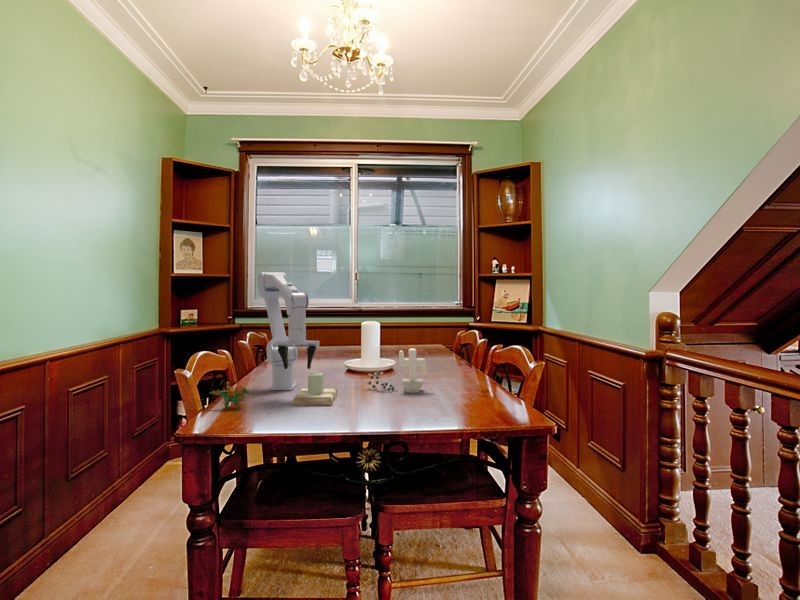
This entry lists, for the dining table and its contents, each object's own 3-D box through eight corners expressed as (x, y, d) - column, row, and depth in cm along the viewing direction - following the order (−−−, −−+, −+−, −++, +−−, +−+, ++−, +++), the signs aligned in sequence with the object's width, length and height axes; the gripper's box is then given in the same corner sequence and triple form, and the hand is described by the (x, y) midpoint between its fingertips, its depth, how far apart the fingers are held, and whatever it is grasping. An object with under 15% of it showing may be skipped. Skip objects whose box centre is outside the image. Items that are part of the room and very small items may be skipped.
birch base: (302, 394, 155) (301, 387, 155) (337, 394, 155) (337, 387, 155) (293, 405, 141) (292, 397, 141) (331, 405, 141) (331, 397, 141)
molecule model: (389, 400, 156) (399, 379, 157) (360, 385, 159) (370, 365, 160) (394, 401, 161) (403, 380, 163) (365, 387, 165) (375, 367, 166)
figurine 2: (426, 393, 156) (426, 350, 155) (398, 393, 156) (398, 350, 156) (425, 388, 163) (425, 347, 162) (399, 388, 163) (399, 347, 163)
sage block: (310, 390, 150) (310, 372, 150) (323, 390, 150) (323, 372, 150) (307, 394, 145) (307, 375, 145) (321, 394, 145) (321, 375, 145)
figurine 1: (247, 409, 137) (246, 382, 137) (207, 409, 137) (207, 382, 137) (250, 406, 140) (250, 380, 140) (211, 406, 140) (211, 380, 140)
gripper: (272, 329, 148) (272, 370, 148) (316, 329, 148) (317, 370, 149) (277, 327, 155) (278, 366, 155) (320, 327, 155) (320, 366, 156)
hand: (297, 368), depth 153 cm, fingers open, 7 cm apart
